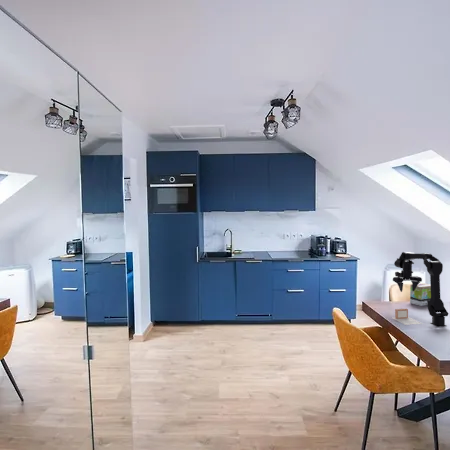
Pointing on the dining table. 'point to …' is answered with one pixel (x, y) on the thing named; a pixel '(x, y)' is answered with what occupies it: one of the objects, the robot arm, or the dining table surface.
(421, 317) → the dining table surface
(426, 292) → the tea box
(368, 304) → the dining table surface
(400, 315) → the tile
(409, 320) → the mat
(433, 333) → the dining table surface
